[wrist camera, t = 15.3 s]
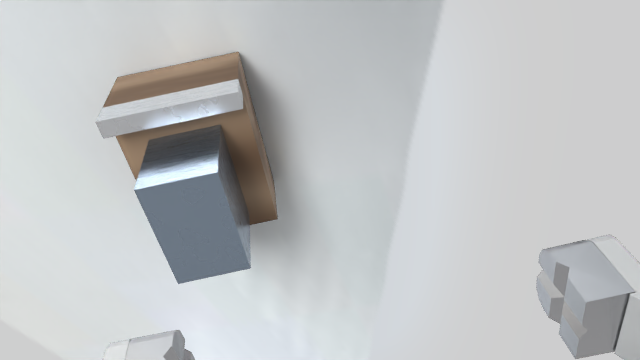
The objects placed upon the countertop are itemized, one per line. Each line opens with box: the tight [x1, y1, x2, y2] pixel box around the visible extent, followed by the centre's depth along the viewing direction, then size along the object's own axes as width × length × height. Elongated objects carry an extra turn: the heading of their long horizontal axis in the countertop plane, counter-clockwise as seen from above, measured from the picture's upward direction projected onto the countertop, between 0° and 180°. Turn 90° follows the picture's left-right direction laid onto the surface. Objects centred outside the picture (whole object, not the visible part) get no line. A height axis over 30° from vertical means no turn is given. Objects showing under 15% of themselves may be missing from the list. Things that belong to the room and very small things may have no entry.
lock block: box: [134, 124, 251, 284], centre depth 35 cm, size 8×5×6 cm, turn 10°
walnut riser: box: [96, 52, 278, 225], centre depth 38 cm, size 12×9×7 cm
